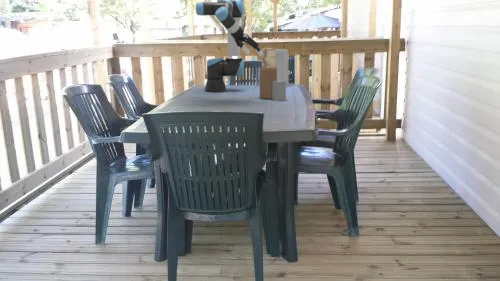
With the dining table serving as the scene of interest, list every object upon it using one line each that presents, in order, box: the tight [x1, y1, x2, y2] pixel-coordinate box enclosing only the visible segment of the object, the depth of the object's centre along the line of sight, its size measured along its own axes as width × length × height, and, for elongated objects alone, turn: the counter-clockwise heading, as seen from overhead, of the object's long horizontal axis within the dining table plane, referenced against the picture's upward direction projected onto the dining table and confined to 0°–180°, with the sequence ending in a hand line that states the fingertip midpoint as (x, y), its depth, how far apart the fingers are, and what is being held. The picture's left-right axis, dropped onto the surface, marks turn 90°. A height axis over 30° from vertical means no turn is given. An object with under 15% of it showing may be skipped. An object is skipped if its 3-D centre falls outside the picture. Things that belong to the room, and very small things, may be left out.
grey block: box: [271, 80, 287, 102], centre depth 290 cm, size 6×6×12 cm
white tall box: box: [275, 48, 289, 88], centre depth 351 cm, size 19×15×28 cm
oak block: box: [261, 47, 276, 68], centre depth 293 cm, size 6×6×12 cm
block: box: [259, 66, 277, 100], centre depth 297 cm, size 10×10×20 cm
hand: (255, 54), depth 286 cm, fingers open, 13 cm apart
